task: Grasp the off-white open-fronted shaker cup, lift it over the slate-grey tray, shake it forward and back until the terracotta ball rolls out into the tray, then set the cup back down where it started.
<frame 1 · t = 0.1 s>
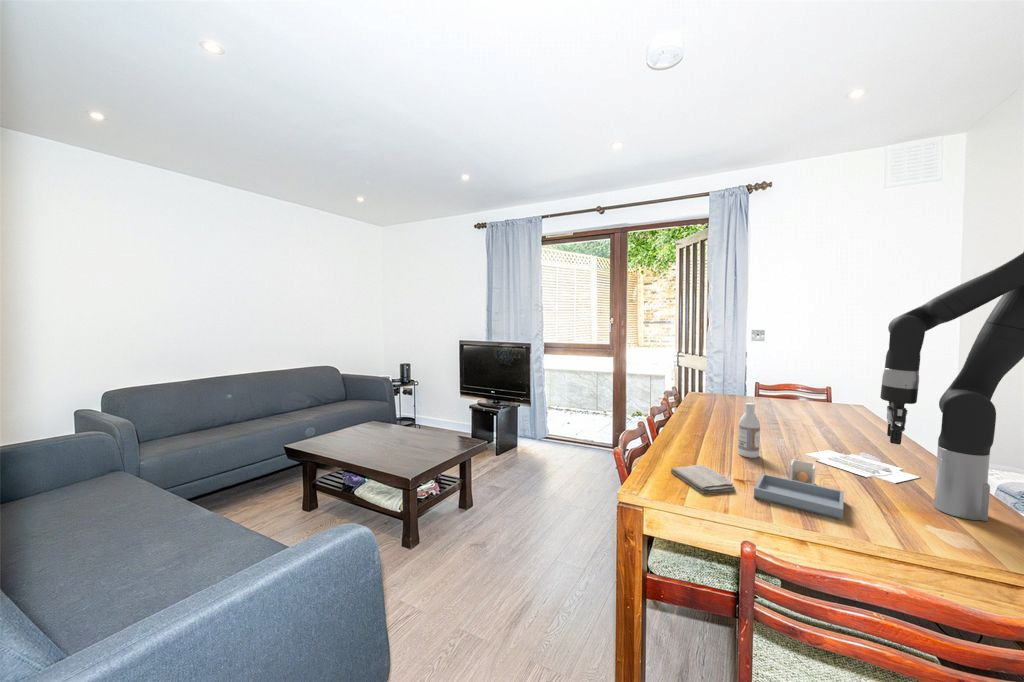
hand: (893, 440, 115), 17 cm above the table, tool pointing down, fingers open, 8 cm apart
washcloth: (701, 483, 128), on the table
ball: (802, 477, 126), point 2 cm above the table, touching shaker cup
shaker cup: (802, 484, 125), on the table, touching ball
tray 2: (858, 467, 141), on the table
bath foam: (748, 455, 151), on the table
tray: (798, 499, 115), on the table
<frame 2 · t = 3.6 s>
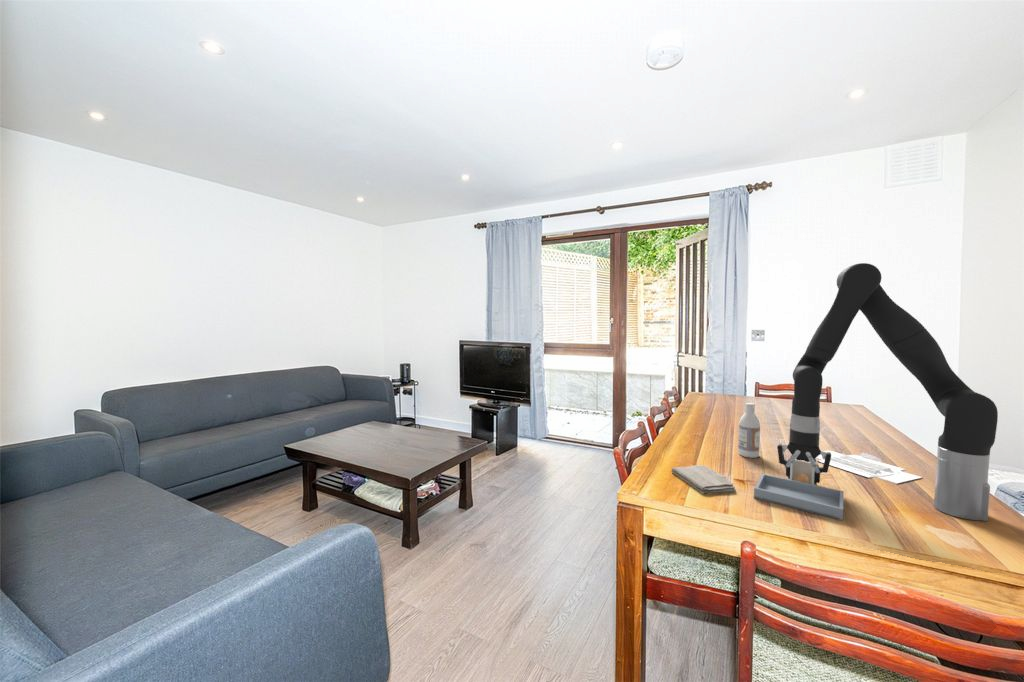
hand: (802, 480, 125), 1 cm above the table, tool pointing down, fingers closed on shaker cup, 6 cm apart
ball: (802, 479, 124), point 2 cm above the table, tilted 79°, touching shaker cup
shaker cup: (802, 484, 125), on the table, touching ball, gripper
everything else where it was.
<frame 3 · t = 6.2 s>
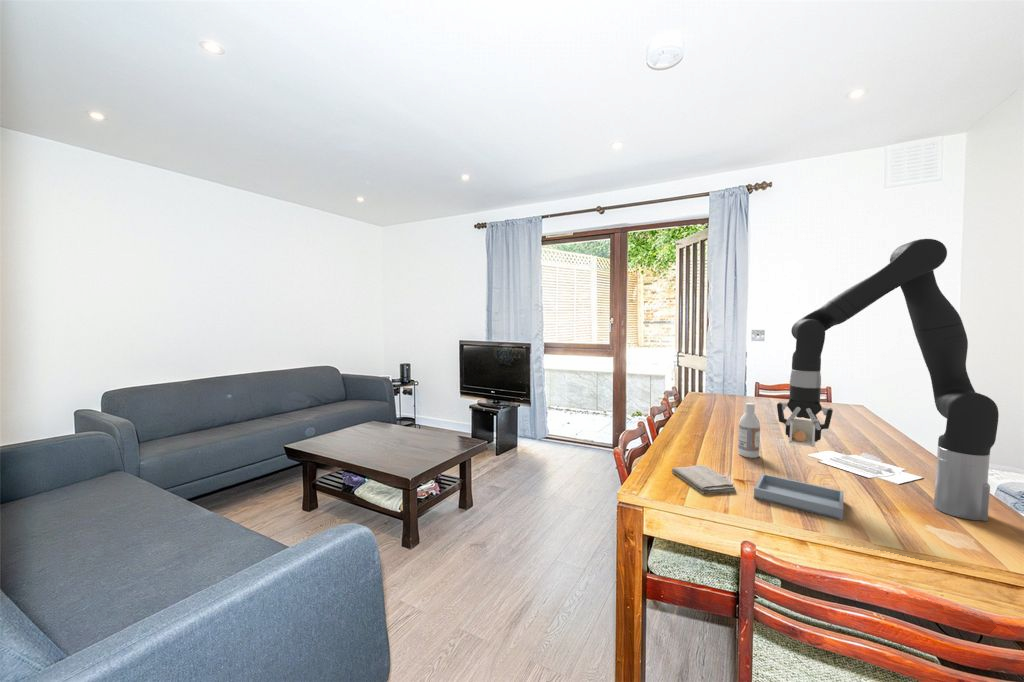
hand: (802, 438, 121), 16 cm above the table, tool pointing down, fingers closed on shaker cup, 6 cm apart
ball: (799, 436, 121), point 17 cm above the table, tilted 62°, touching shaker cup
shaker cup: (802, 442, 121), point 15 cm above the table, touching ball, gripper
everything else where it was.
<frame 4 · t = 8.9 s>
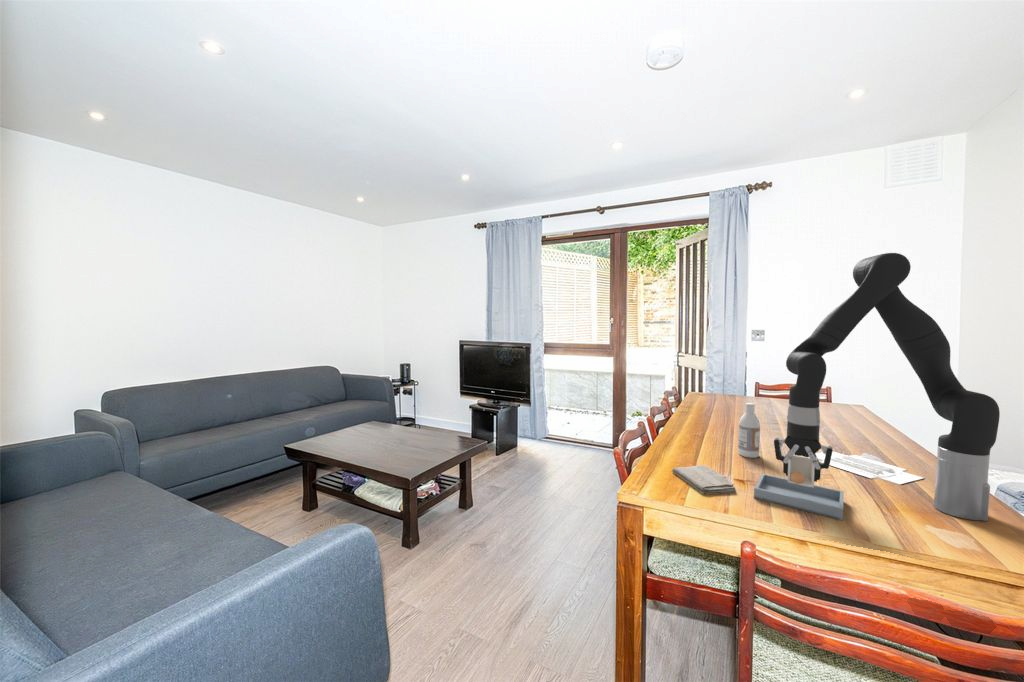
hand: (801, 477, 115), 6 cm above the table, tool pointing down, fingers closed on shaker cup, 6 cm apart
ball: (797, 477, 112), point 7 cm above the table, tilted 122°
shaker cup: (801, 481, 115), point 5 cm above the table, touching gripper
everything else where it was.
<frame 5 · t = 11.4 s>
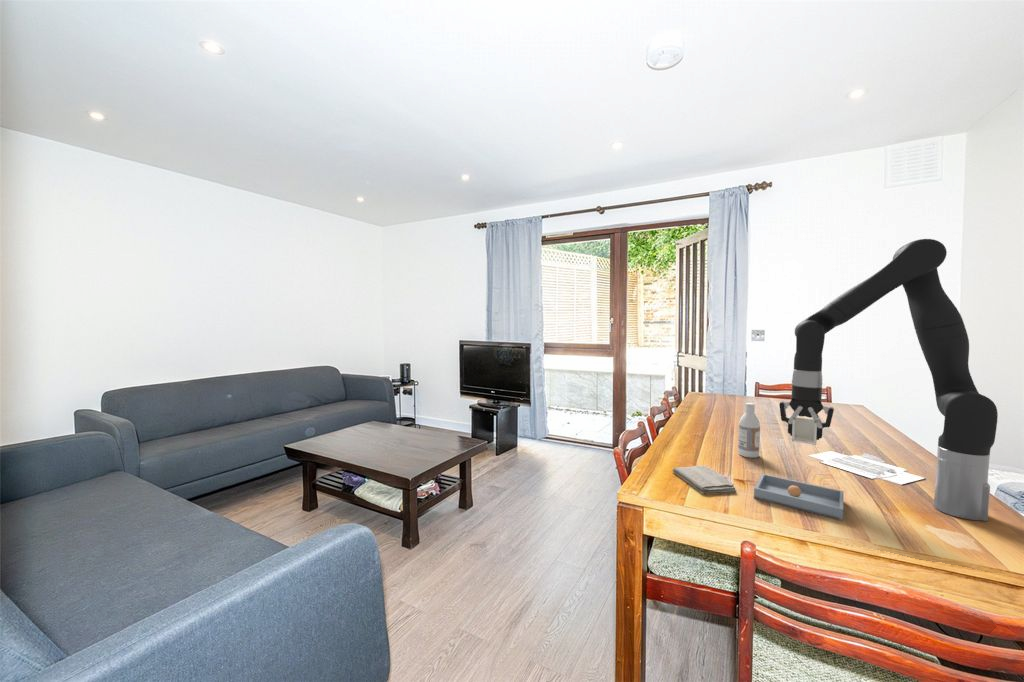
hand: (804, 437, 124), 15 cm above the table, tool pointing down, fingers closed on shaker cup, 6 cm apart
ball: (794, 491, 115), point 2 cm above the table, tilted 118°, touching tray
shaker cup: (804, 440, 124), point 14 cm above the table, touching gripper
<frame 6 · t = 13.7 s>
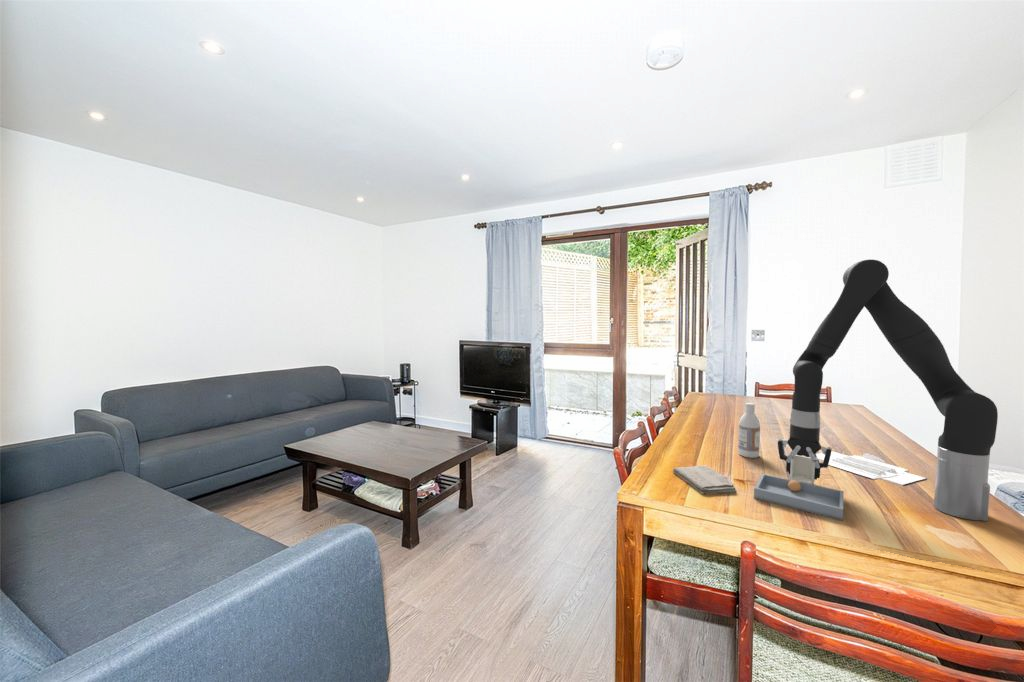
hand: (802, 475, 125), 3 cm above the table, tool pointing down, fingers closed on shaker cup, 6 cm apart
ball: (794, 485, 119), point 2 cm above the table, tilted 54°, touching tray
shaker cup: (802, 479, 125), point 1 cm above the table, touching gripper
when the fingers open (3 cm above the table, at t = 14.2 s): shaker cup drops 1 cm, on the table.
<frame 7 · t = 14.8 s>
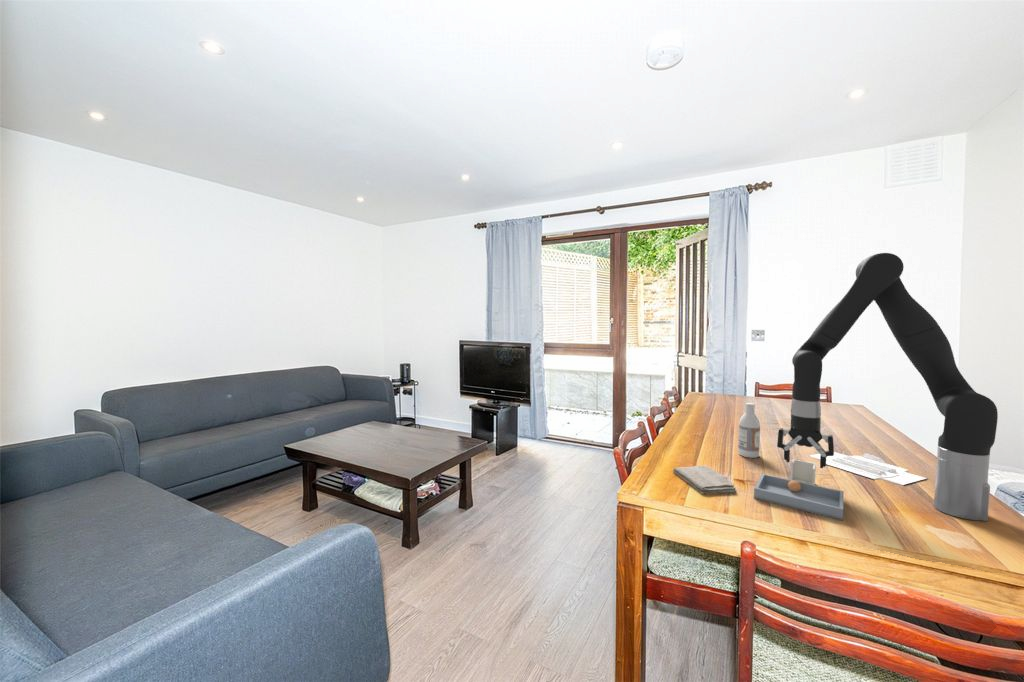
hand: (804, 464, 125), 6 cm above the table, tool pointing down, fingers open, 8 cm apart
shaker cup: (802, 484, 125), on the table
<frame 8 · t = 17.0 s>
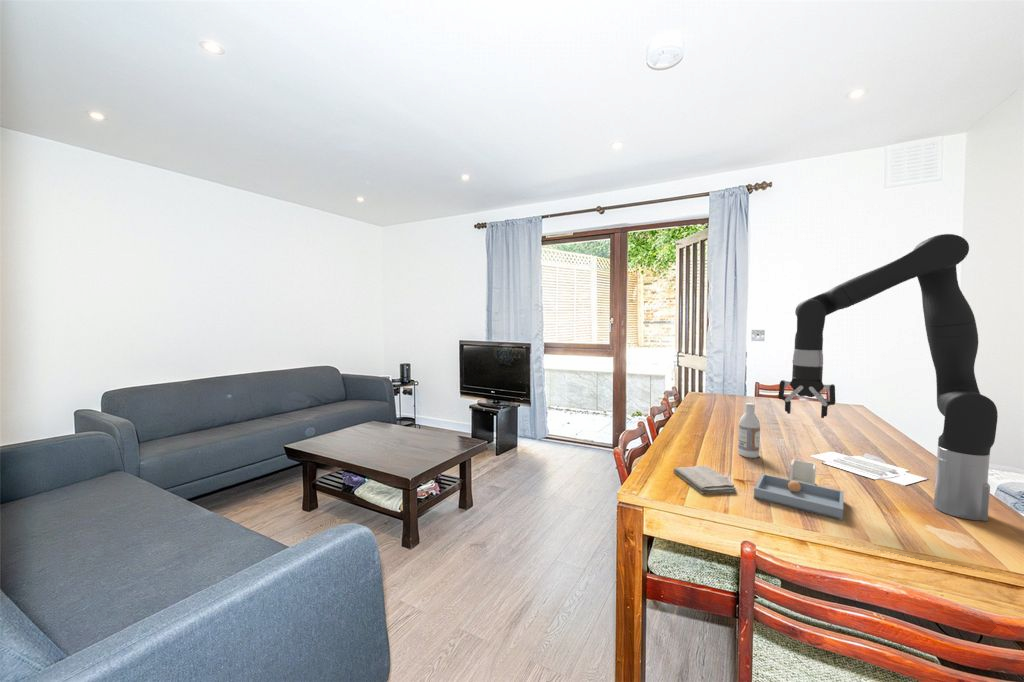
hand: (805, 415, 124), 22 cm above the table, tool pointing down, fingers open, 8 cm apart
at the end: ball inside the target area on the tray (4.2 cm from its centre), point 2.2 cm above the tray's base; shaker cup inside the target area (0.1 cm from its centre), on the table; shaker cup tilted 0° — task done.
